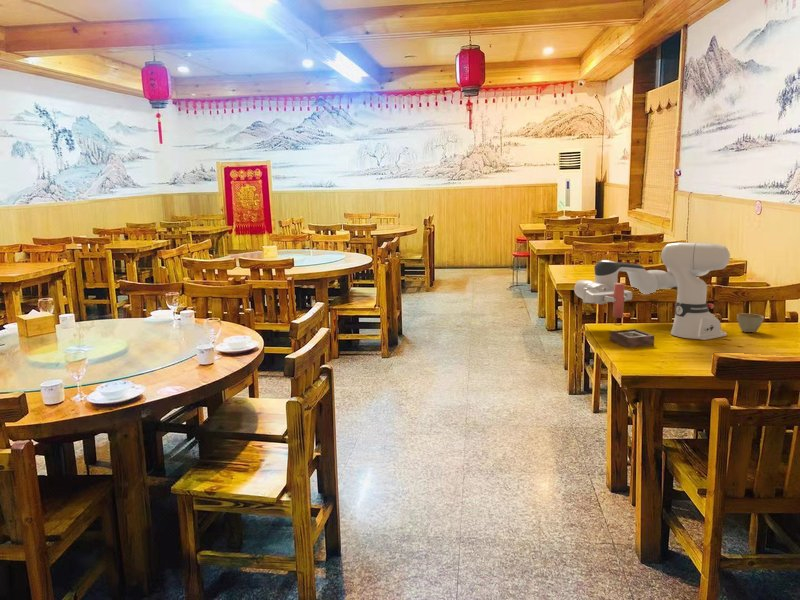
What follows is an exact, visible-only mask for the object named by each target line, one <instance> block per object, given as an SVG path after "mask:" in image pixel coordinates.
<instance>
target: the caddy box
mask: <svg viewBox="0 0 800 600" xmlns="http://www.w3.org/2000/svg"><path fill="white" fill-rule="evenodd" d="M611 341H612V343H614V342H615V343H614V344H616V343H617V345H619V346H621V347H624V346H625V348H626V349H632V348H631V347H633V348H640V347H639V346H643V347H650V345H652V346H654V345H655V335H653V334H651V333H648V332H645V331H642V330H639V329H636V328H633V329H621V330H611V331H610V332H609V342H611Z"/></svg>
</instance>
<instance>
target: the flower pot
mask: <svg viewBox="0 0 800 600" xmlns="http://www.w3.org/2000/svg"><path fill="white" fill-rule="evenodd" d="M736 319H737V322H738V325H739V328H740V330H741V332H742V331H744V332H743V333H745V332H755V333H757V331H759V329H760V328H761V325H762V323H763V321H764V319H765V317H764V316H763V315H761V314H754V313H748V312H747V313H745V312H744V313H738V314H736Z"/></svg>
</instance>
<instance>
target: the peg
mask: <svg viewBox="0 0 800 600" xmlns="http://www.w3.org/2000/svg"><path fill="white" fill-rule="evenodd" d="M625 287H626V286H625V283H624V282H623V283H622V282H617V283H615V284H614V298H616V302H612V304H613V305H612V318H614V319H623V317H624V304H625V303H624V302H625V301H624V290H625Z"/></svg>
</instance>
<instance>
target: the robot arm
mask: <svg viewBox="0 0 800 600" xmlns="http://www.w3.org/2000/svg"><path fill="white" fill-rule="evenodd" d="M660 258H661V262H662V263H663V265H664V266H665V267H666V270H667V271H666V270H660V269H649V270H646V269H645V268H644V266H643V265H641V264H638V263H636V264H635V263H630V262H622V261H613V260H609V259H602V260H599V261H598V262H597V263H596V264H595V265H594V281H593V280H589V279H579V280H577V282H575V284H574V289H573V291H574V293H575V296H577V297H578V298H580V299H582V302H583V304H597V305H605V304H606V303H613V302H616V298H614V284H615V283H618V281H619V280H618V274H619V272H626V273H627V277H628V279H629V283H630V286H631V288H632V287H635V288H637V289H639V291H640V292H641V293H643V294H642V295H651V294H650V293H653V292H656V290H659V289H665V290H668V289H670V290H672V289H677V295H676V297H677V298H676V301H675V306H674V310H675V315H674V320H673V325H672V327H671V330H670V334H671V335H672V336H675V337H679V338H682V339H683V338H684V339H693V340H702V341H707V340H712V339H717V338H722V337H726V336H728V335H727V332H726V331H723V330H722V325H721V321H720V320H719V319H718V318H717V316H715V315H714V314H712V312H710V309H711V310H712V309H714V307H715V305H714V304H713V303H707V291H708V285H707V283H706V282H705V281H704V280H703V279H702V278H699V277H703V276H706V275H707V274H709V272H712V271H717V270H718V271H719V270H724V269H725V268H726V267H727V266H728V265H729V262H730V260H731V253H730V250H729V249H728V248H727V247H726V246H725V245H722V244H721V245H720V244H717V243H708V242H707V243H705V242H703V243H702V242H683V241H682V242H681V241H680V242H672V243H666V245H664V247H663V248H662V250H661V254H660ZM653 294H654V293H653ZM632 299H633V291H630V290H627V289H624V302H627V301H631V300H632Z"/></svg>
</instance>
